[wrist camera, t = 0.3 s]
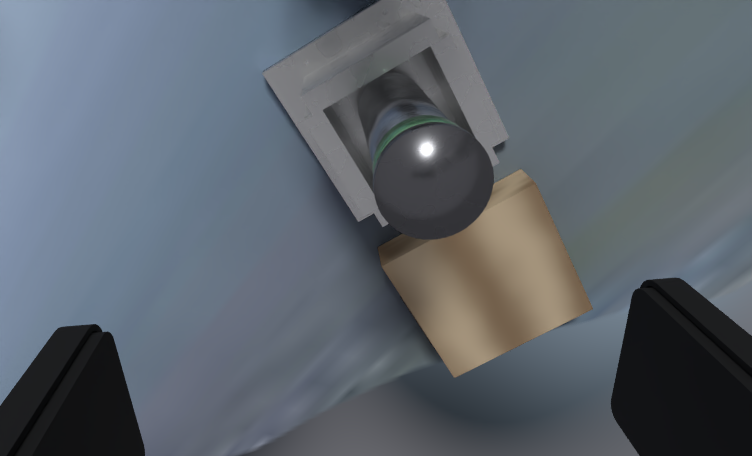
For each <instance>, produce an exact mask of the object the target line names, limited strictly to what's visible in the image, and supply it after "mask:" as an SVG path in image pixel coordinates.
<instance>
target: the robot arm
mask: <svg viewBox="0 0 752 456" xmlns="http://www.w3.org/2000/svg"><path fill="white" fill-rule="evenodd" d="M611 409H612V413H613V416H614V418H615V420H616V422H617V423H618V425H619V426H620V428H621V429H622V430H623V432H624V433H625V435H626V436H627V438H628V439H629V441H630V442H631V444H632V445H633V447H634V448H635V449H636V451H637V453H638V454H639V455H640V456H752V336H751V335H750V334H748V333H747V332H746V331H745V330H744V329H742V328H741V327H740V326H738V325H737V324H736V323H735V322H734V321H733V320H731V319H730V318H729V317H728V316H726V315H725V314H724V313H723V312H722V311H720V310H719V309H718V308H717V307H715V306H714V305H713V304H712V303H711V302H709V301H708V300H707V299H706V298H704V297H703V296H702V295H701V294H700V293H698V292H697V291H696V290H695V289H693V288H692V287H691V286H690V285H689V284H687V283H686V282H685V281H684V280H682V279H680V278H665V279H653V280H646V281H644V282H643V283H642V285H641V287H640V288H639V289H636V290H635V291H634V292H633V295H632V299H631V304H630V309H629V314H628V319H627V324H626V329H625V334H624V339H623V344H622V349H621V354H620V358H619V363H618V368H617V373H616V379H615V383H614V388H613V393H612V398H611ZM0 456H145V449H144V444H143V441H142V437H141V433H140V430H139V426H138V423H137V419H136V416H135V412H134V409H133V405H132V402H131V398H130V395H129V391H128V388H127V384H126V381H125V377H124V373H123V370H122V366H121V363H120V359H119V356H118V352H117V349H116V345H115V342H114V339H113V336H112V334H111V333H110V332H102V330H101V328H100V327H99V326H98V325H96V324H91V325H79V326H66V327H60V328H58V329H57V330H56V331H55V332H54V333H53V335H52V336H51V338H50V339H49V340H48V342H47V343H46V344H45V346H44V347H43V348H42V350H41V351H40V352H39V354H38V355H37V357H36V358H35V359H34V361H33V362H32V363H31V365H30V366H29V367H28V369H27V370H26V372H25V373H24V374H23V376H22V377H21V378H20V380H19V381H18V382H17V384H16V385H15V386H14V388H13V389H12V391H11V392H10V393H9V395H8V396H7V397H6V399H5V400H4V401H3V403H2V404H1V406H0Z"/></svg>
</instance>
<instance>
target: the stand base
mask: <svg viewBox="0 0 752 456" xmlns="http://www.w3.org/2000/svg"><path fill="white" fill-rule="evenodd" d="M386 73H399V74H403V75H406V76H408V77H409V78H411V79H412V80H413V81H415V82H416V83H417V85H418V86H419V87H420V88H421V89H422V90H423V91H424V92H425V93H426V95H427V96H428V97H429V98H430V99H431V100H432V101H433V102H434V104H435V105H436V106H437V107H438V108H439V109H440V110H441V111H442V112H443V114H444V115H445V116H446V117H447V118H448V119H449V120H450V121H452V122H454V123H455V124H456V125H458V126H459V127H460V128H462V129H464V130H466V131H467V132H469V133H470V134H471V135H473V136H474V137H475V138H476V139H477V140H478V141H479V142H480V143H481V145H482V146H483V147H484V148H485V150H486V152H487V153H488V155H489V158H490V160H491V163H492V167H493V166H494V165H496V164H498V163H499V161H498V159H497V156H496V154H495V152H494V150H493V148H492V147H494V146H496V145H498V144H500V143H501V142H503V141H505V140H507V139H509V136H508V134H507V132H506V130H505V128H504V125H503V123H502V121H501V119H500V117H499V115H498V112H497V110H496V108H495V106H494V104H493V102H492V99H491V97H490V95H489V93H488V91H487V89H486V86H485V84H484V82H483V80H482V78H481V76H480V73H479V71H478V69H477V67H476V65H475V63H474V60H473V58H472V56H471V54H470V52H469V50H468V47H467V45H466V43H465V41H464V39H463V36H462V34H461V32H460V30H459V28H458V26H457V23H456V21H455V19H454V17H453V15H452V13H451V10H450V8H449V6H448V4H447V2H446V0H378V1H376V2H374V3H373V4H371V5H370V6H368V7H366V8H365V9H363V10H361V11H360V12H358V13H357V14H355V15H353V16H352V17H350V18H348V19H347V20H345V21H344V22H342V23H340V24H339V25H337V26H336V27H334V28H332V29H331V30H329V31H327V32H326V33H324V34H323V35H321V36H319V37H318V38H316V39H314V40H313V41H311V42H310V43H308V44H306V45H305V46H303V47H301V48H300V49H298V50H297V51H295V52H293V53H292V54H290V55H288V56H287V57H285V58H284V59H282V60H280V61H279V62H277V63H275V64H274V65H272V66H271V67H269V68H267V69H266V70H264V71H263V73H262V74H263V75H264V77H265V78H266V80H267V82H268V83H269V85H270V86H271V88H272V89H273V91H274V92H275V94H276V95H277V97H278V99H279V100H280V102H281V103H282V105H283V106H284V108H285V109H286V111H287V112H288V114H289V116H290V117H291V119H292V120H293V122H294V123H295V125H296V126H297V128H298V129H299V131H300V133H301V134H302V136H303V137H304V139H305V140H306V142H307V143H308V145H309V146H310V148H311V149H312V151H313V153H314V154H315V156H316V157H317V159H318V160H319V162H320V163H321V165H322V166H323V168H324V170H325V171H326V173H327V174H328V176H329V177H330V179H331V180H332V182H333V183H334V185H335V187H336V188H337V190H338V191H339V193H340V194H341V196H342V197H343V199H344V200H345V202H346V204H347V205H348V207H349V208H350V210H351V211H352V213H353V214H354V216H355V217H356V219H357V221H358V222H359V221H361V220H363V219H365V218H367V217H368V216H370V215H372V214H375V216H376V217H377V219H378V220H379V222H380V224H381V225H382V227H384V226H386V225H387V224H389V223H388V222H387V221H386V220H385V219H384V217H383V216H382V215H381V213H380V211H379V209H378V206H377V203H376V200H375V196H374V191H373V171H372V166H373V163H372V160H371V156H370V153H369V149H368V145H367V142H366V138H365V135H364V131H363V128H362V124H361V121H360V117H359V113H358V102H359V98H360V95H361V93H362V91H363V89H364V88H365V86H366V85H367V84H368V83H369V82H371V81H372V80H374V79H376V78H377V77H379V76H381V75H383V74H386Z"/></svg>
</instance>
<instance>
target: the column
mask: <svg viewBox="0 0 752 456" xmlns="http://www.w3.org/2000/svg"><path fill="white" fill-rule="evenodd" d="M358 113H359V117H360V121H361V124H362V128H363V131H364V135H365V138H366V142H367V145H368V149H369V153H370V156H371V160H372V163H373V166H372V171H373V191H374V196H375V200H376V203H377V206H378V209H379V211H380V213H381V215H382V216H383V217H384V219H385V220H386V221H387V222H388V223H389V224H390V225H391V226H392V227H393V228H394V229H396V230H397V231H399V232H401V233H402V234H404V235H407V236H409V237H413V238H416V239H423V240H434V239H441V238H446V237H449V236H452V235H454V234H456V233H459V232H461V231H462V230H464V229H465V228H467V227H468V226H470V225H471V224H472V223H473V222H474V221H475V220H476V219H477V218H478V217H479V216H480V215H481V213H482V212H483V211H484V209H485V207H486V206H487V204H488V201H489V199H490V196H491V193H492V189H493V182H494V174H493V167H492V163H491V160H490V158H489V155H488V153H487V152H486V150H485V148H484V147H483V146H482V145H481V143H480V142H479V141H478V140H477V139H476V138H475V137H474V136H473V135H471V134H470V133H469V132H467V131H466V130H464V129H462V128H460V127H459V126H458V125H456V124H455V123H454V122H452V121H450V120H449V119H448V118H447V117H446V116H445V115H444V114H443V112H442V111H441V110H440V109H439V108H438V107H437V106H436V105H435V104H434V102H433V101H432V100H431V99H430V98H429V97H428V96H427V95H426V93H425V92H424V91H423V90H422V89H421V88H420V87H419V86H418V85H417V83H416V82H415V81H413V80H412V79H411V78H409V77H408V76H406V75H403V74H399V73H386V74H383V75H381V76H379V77H377V78H376V79H374V80H372V81H371V82H369V83H368V84H367V85H366V86H365V88H364V89H363V91H362V93H361V95H360V98H359V102H358Z"/></svg>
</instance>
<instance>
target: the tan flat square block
mask: <svg viewBox="0 0 752 456" xmlns="http://www.w3.org/2000/svg"><path fill="white" fill-rule="evenodd" d="M378 252H379V257H380V261H381V266H382V268H383V270H384V271H385V273H386V274H387V276H388V277H389V279H390V280H391V282H392V283H393V285H394V286H395V288H396V289H397V291H398V292H399V294H400V296H401V299H402V300H403V302H404V303H405V305H406V306H407V308H408V310H409V311H410V313H411V314H412V316H413V317H414V319H415V320H416V322H417V323H418V325H419V326H420V328H421V329H422V331H423V332H424V334H425V336H426V337H427V339H428V340H429V342H430V343H431V344H432V345H433V346H434V348H435V349H436V351H437V352H438V354H439V355H440V357H441V358H442V360H443V361H444V363H445V364H446V366H447V367H448V369H449V371H450V372H451V374H452V375H453V376H454V378H455V377H458V376H460V375H462V374H464V373H465V372H468V371H470V370H472V369H473V368H476V367H477V366H480V365H481V364H484V363H486V362H488V361H490V360H492V359H494V358H495V357H497V356H500V355H502V354H504V353H506V352H508V351H510V350H512V349H514V348H516V347H518V346H520V345H522V344H524V343H526V342H528V341H530V340H532V339H534V338H536V337H538V336H540V335H542V334H544V333H546V332H548V331H550V330H552V329H554V328H556V327H558V326H560V325H562V324H564V323H566V322H568V321H570V320H572V319H574V318H576V317H578V316H580V315H582V314H584V313H586V312H588V311H590V310H592V309H593V308H592V306H591V303H590V301H589V299H588V297H587V295H586V292H585V290H584V288H583V286H582V284H581V281H580V279H579V277H578V275H577V273H576V270H575V268H574V266H573V264H572V262H571V259H570V257H569V255H568V253H567V251H566V248H565V246H564V244H563V242H562V240H561V237H560V235H559V233H558V231H557V229H556V226H555V224H554V222H553V220H552V218H551V216H550V213H549V211H548V209H547V207H546V205H545V202H544V200H543V198H542V196H541V194H540V191H539V189H538V187H537V185H536V183H535V182H534V181H533V180H532V179H531V178H530V177H529V176H528V175H527V174H526V173H525V172H524V171H523V170H521V169H520V170H518V171H516V172H514V173H513V174H511V175H509V176H507V177H505V178H503V179H502V180H500V181H498V182H496V183H494V184H493V189H492V193H491V196H490V199H489V201H488V204H487V206H486V207H485V209H484V211H483V212H482V213H481V215H480V216H479V217H478V218H477V219H476V220H475V221H474V222H473V223H472V224H471V225H470V226H468V227H467V228H465V229H464V230H462V231H461V232H459V233H456V234H454V235H452V236H449V237H446V238H441V239H434V240H423V239H416V238H413V237H409V236H407V235H404V234H401V235H399V236H397V237H395V238H394V239H392V240H390V241H388V242H386V243H384V244H383V245H381V246H379V247H378Z"/></svg>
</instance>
